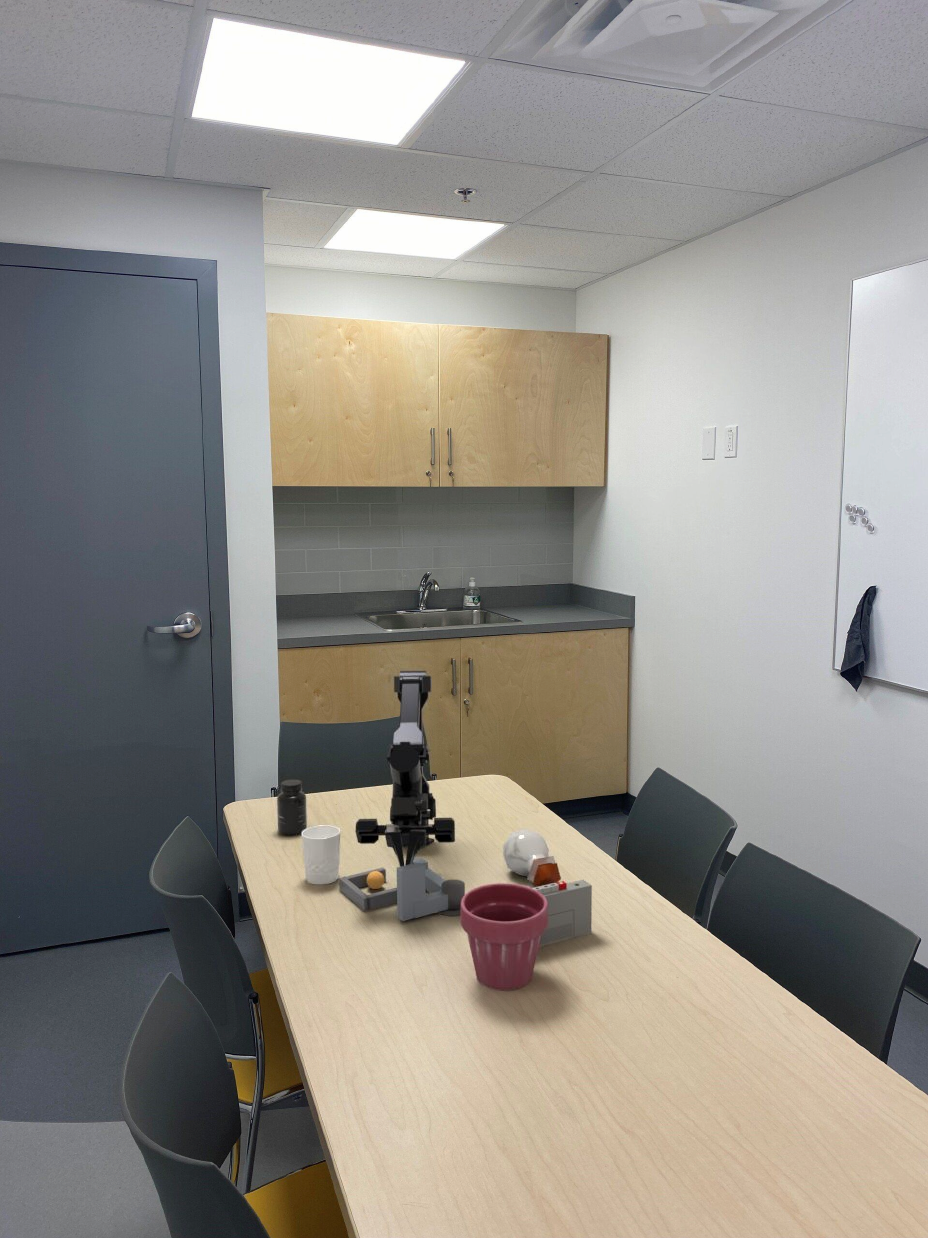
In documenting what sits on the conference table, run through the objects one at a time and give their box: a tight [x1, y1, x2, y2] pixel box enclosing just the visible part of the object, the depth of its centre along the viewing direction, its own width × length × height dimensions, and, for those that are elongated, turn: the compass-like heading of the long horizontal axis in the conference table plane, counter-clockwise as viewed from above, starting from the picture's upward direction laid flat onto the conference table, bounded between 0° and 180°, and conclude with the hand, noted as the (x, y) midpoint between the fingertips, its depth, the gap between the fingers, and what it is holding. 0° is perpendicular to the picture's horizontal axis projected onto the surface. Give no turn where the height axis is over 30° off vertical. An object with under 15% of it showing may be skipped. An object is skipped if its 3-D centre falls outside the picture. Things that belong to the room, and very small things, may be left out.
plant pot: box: [460, 882, 548, 991], centre depth 144 cm, size 14×14×13 cm
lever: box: [396, 856, 466, 922], centre depth 172 cm, size 17×14×10 cm
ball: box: [367, 871, 385, 890], centre depth 178 cm, size 4×4×4 cm
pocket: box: [338, 867, 397, 912], centre depth 175 cm, size 10×11×2 cm
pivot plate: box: [437, 908, 461, 917], centre depth 169 cm, size 7×7×1 cm
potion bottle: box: [502, 828, 562, 887], centre depth 182 cm, size 9×10×15 cm
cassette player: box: [531, 879, 593, 947], centre depth 156 cm, size 16×3×10 cm, turn 116°
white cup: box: [301, 824, 341, 886], centre depth 183 cm, size 8×8×10 cm
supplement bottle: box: [276, 779, 308, 837], centre depth 210 cm, size 7×7×12 cm
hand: (404, 873), depth 165 cm, fingers closed
